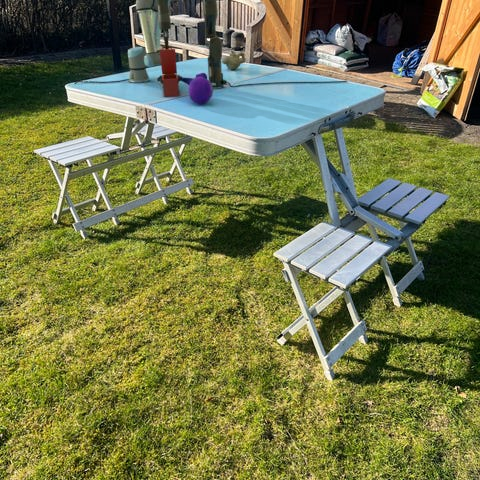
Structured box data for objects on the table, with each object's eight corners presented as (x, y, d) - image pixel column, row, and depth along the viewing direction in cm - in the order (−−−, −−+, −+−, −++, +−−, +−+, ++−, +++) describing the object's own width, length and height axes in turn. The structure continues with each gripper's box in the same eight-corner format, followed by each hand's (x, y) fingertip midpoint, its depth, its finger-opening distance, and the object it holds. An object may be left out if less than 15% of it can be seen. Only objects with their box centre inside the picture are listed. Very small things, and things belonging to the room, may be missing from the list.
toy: (201, 95, 293) (213, 109, 272) (175, 90, 286) (185, 105, 265) (206, 70, 285) (219, 83, 264) (179, 65, 278) (190, 78, 257)
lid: (175, 49, 287) (174, 41, 291) (159, 50, 286) (158, 42, 290) (177, 73, 302) (176, 65, 307) (162, 74, 301) (161, 66, 305)
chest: (179, 96, 293) (177, 78, 288) (164, 97, 292) (162, 79, 287) (178, 90, 308) (177, 74, 303) (163, 91, 307) (162, 74, 301)
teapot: (225, 71, 366) (225, 52, 358) (219, 69, 374) (218, 50, 367) (248, 69, 375) (247, 49, 367) (241, 67, 383) (240, 48, 376)
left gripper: (186, 80, 324) (187, 86, 304) (154, 81, 321) (154, 88, 302) (185, 69, 320) (186, 75, 301) (153, 70, 317) (152, 76, 298)
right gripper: (170, 21, 280) (173, 50, 289) (170, 19, 292) (172, 47, 301) (158, 22, 279) (161, 51, 288) (158, 20, 291) (161, 48, 300)
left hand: (170, 81), depth 301 cm, fingers closed on chest, 10 cm apart
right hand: (167, 49), depth 294 cm, fingers open, 5 cm apart
